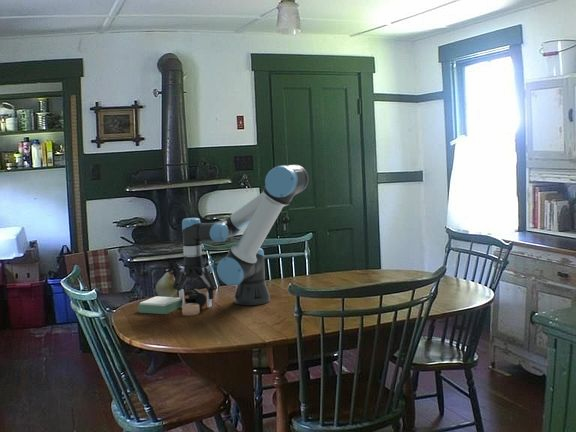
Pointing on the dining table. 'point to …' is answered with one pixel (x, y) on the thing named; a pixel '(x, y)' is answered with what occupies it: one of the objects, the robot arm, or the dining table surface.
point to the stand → (160, 305)
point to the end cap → (195, 297)
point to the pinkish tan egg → (190, 309)
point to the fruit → (166, 285)
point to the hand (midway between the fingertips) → (195, 306)
